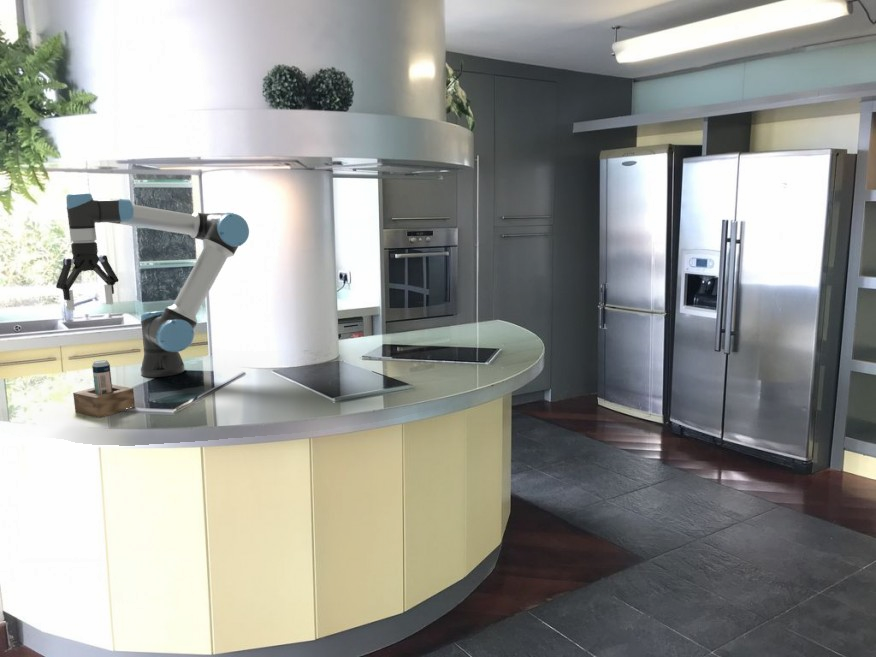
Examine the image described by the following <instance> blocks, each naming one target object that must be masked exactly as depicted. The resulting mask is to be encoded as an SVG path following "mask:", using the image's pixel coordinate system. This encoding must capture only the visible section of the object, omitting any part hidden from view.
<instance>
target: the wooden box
mask: <svg viewBox="0 0 876 657" xmlns="http://www.w3.org/2000/svg"><path fill="white" fill-rule="evenodd" d="M112 391H113V392H109V393H105V394H101V395H98V394H95V387H92V388H87V389H84V390H80V391H76V392H73V393H72V394H73V403H74V411H75V413H78V414H82V415H85V416H89V417H95V418H103V417H106V416H110V415H113V414H117V413H120V412H125V411H126V410H125V409H126V408H130V407H134V406H135V407H136V402H135V393H134V387H133V388H132V387H127V386H122V385H117V384H112ZM135 407H134V408H135Z"/></svg>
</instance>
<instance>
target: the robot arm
mask: <svg viewBox="0 0 876 657" xmlns="http://www.w3.org/2000/svg"><path fill="white" fill-rule="evenodd" d="M66 212H67V220H68V227H69V236H70V241H71V244H70V245H71V254H72V258H69V257H68V258H66V257H65V258H63V259H62V260H63V262H62V263H63V265H62V269H61V271H60V273H59V274H60V275H59V278H58V280H57V283H56V286H55V287H56V289H59V290H62V294H63V299H64V301H66V307H67V311H75V302H74V301H75V300H74V292H73V289H71V288H72V286H73V284H74V283H75V282H76V280H77V278H78V277H79V275H80V274H81V273H82V272H88V271H93V272H95V273H96V275H98V276H99V277H100V278H101V280H103V282H104V283H105V284H104V285H103V287H104V292H105V293H104V294H105V302H106V303H105V304H106V305H111V306H112V305H114V299H113V294H114V293H115V289H114V285H116V283H118V282H119V278H118V276H117V274H116V273H115V271H114V270H113V268H112V266H111V264H110V262H109V260H108V256H107V255H101V254H100V255H99V256H98V252H99V249H98V242H96V241H97V233H96V223H97V224H98V223H108V224H109V223H110V224H115V225H116V224H117V225H118V224H119V225H124V226H132V227H137V228H143V229H144V228H145V229H149V230H156V231H163V232H169V233H176V234H182V235H189V236H190V238H191V239H196V240H200V241H201V240H202V241H203V243H204V248H203V249H202V251H201V253H200V255H199V256H198V259H197V260H196V261H195V263H194V266H193V267H192V269H191V271H190V273H189V275H188V277H187V279H185V281H184V283H183V286H182V288H181V289H180V291H179V293H178V295H177V296H176V298H175V300H174V302H173V304H171V305H170V306H166V307H165V309H164V310H159V311H158V310H157V311H150V312H149V311H147V312H143V313H142V314H141V316H140V323H141V330H142V334H141V335H142V342H143V353H144V354H143V358H142V362H141V363H142V364H141V367H140V373H141V376H143V377H146V378H162V377H171V376H175V375H180V374H183V372H185V363H184V362H183V359H182V356H181V355H180V352H182V351H184V350H186V349H188V348H189V347H190V346H191V344H192V343H193V340H194V337H195V332H194V331H195V330H194V329H195V328H196V326H197V324H198V320H197V314H199V311H200V309H201V306H202V305H203V304H204V302H205V299H206V298H207V296H208V294H209V292H210V290H211V288H212V287H213V285H214V282H216V280H217V277H218V276H219V273H220V272H221V270H222V268H223V267H224V264H225V262H226V261H227V259H228V258H231V257H234V255H235V253H236V251H237V250H238V248H239V247H240V246H242V245H243V244H245V243H246V242H247V241H248V238H249V234H250V228H249V225H248V222H247V220H245V219H244V218H243V216H241V215H239V214H237V213H234V212H215V213H214V212H213V213H202V212H196V211H195V212H193V213H185V212H180V211H179V212H178V211H174V210H167V209H161V208H156V207H150V206H144V205H137V204H133V203H132V201H131V200H130V199H128V198H104V199H103V198H97V199H96V198H93V195H92V194H91V192H90V193H89V192H86V193H84V192H83V193H80V192H79V193H68V194H67V195H66ZM98 263H100V264H101V266H102V267H101V266H100V265H99V264H98ZM72 265H74V266H73V267H72ZM71 268H72V269H71ZM102 268H103V269H102Z"/></svg>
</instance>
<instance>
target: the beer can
mask: <svg viewBox="0 0 876 657" xmlns="http://www.w3.org/2000/svg"><path fill="white" fill-rule="evenodd" d="M91 367H92V368H91V369H92V375H93V376H92V377H93V384H94V388H95V394H98V395H101V394H105V393H109V392H113V391H112V383H113V382H112V374H111V373H112V372H111V365H110V362H109V361H108V360H105V359H103V360H96V361H94V362H92V366H91Z"/></svg>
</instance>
